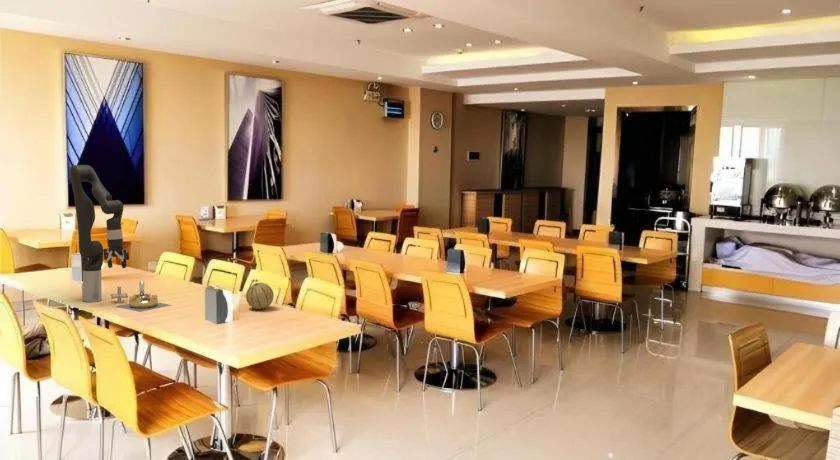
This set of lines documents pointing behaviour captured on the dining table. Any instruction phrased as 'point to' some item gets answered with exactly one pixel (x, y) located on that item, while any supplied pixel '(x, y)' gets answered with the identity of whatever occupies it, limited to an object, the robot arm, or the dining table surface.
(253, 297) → the cantaloupe
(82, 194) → the robot arm
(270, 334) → the dining table surface
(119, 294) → the pipe connector
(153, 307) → the base plate
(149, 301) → the brass lugged hub
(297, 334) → the dining table surface
